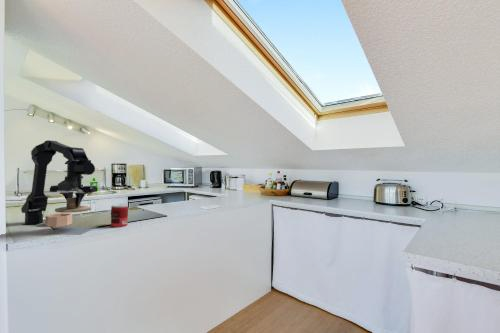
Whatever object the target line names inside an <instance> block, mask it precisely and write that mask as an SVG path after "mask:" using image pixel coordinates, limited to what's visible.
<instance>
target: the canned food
mask: <svg viewBox="0 0 500 333" xmlns="http://www.w3.org/2000/svg"><path fill="white" fill-rule="evenodd" d="M110 207H111V210H110V226H111V228H124V227H127V226H128V224H129V223H128V220H129V218H128V217H129V204H128V203H127V204H126V203H118V204H117V203H116V204H115V203H114V204H111V206H110Z"/></svg>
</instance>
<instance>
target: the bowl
mask: <svg viewBox="0 0 500 333" xmlns="http://www.w3.org/2000/svg"><path fill="white" fill-rule="evenodd" d="M44 224H45V226H46V227H49V228H51V227H55V228H57V227H65V226H70V225H71V224H72V225H73V214H72V213H71V212H69V213H61V212H59V213H52V214H48V215H45V221H44Z"/></svg>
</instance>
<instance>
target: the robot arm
mask: <svg viewBox="0 0 500 333" xmlns="http://www.w3.org/2000/svg"><path fill="white" fill-rule="evenodd" d="M57 153H60V154H62V157H63V158H65V159H67V160H66V161H65V162H64V165H67V167H66V170H67V171H66V175H65V176H64V180H62V181H61V182H59V183H57V184H56V185H55V184H54V185H51V186H50V187H49V193H57V192H59V195H62V196H63V197H64V198H65V201H66V202H67V198H72V197H74V196H73V195H74V194H75V197H76V207H78V206H79V204H80V203H81V202H82V200H83V199H84V197H85V195H86V194H88V193H94V192H95V193H96V192H98V187H97V186H96V185H83V184H82V179H84V176H85V175H87V176H90V175H92V174H94V173H95V170H96V167H95V165H94V163H92V160H91V159H89V157H88V155H87V153H86V151H85V149H84V148H83V147H72V146H69V145H67V144H64V143H61V142H59V141H57V140H49V139H48V140H45V141H44V142H42V143H40V144H37V145H35V146H34V147H33V148H32V149H31V151H30V154H31V155H30V156H31V161H32V162H33V163H34V169H33V177H32V178H33V179H32V186H31V192H30V193H28V195H27V197H26V200H25V202H24V204H23V205H22V206H21V208H20V210H21V213H22V214H24V223H23V222H22V223H21V225H22V226H23V225H26V226H27V225H28V226H31V225H32V226H35V225H36V226H37V225H39V224H42V223H43V224H44V223H45V221H44V214H43V212H46V210H47V207H48V206H47V205H48V199H49V197H48V196H46V194H45V185H46V179H47V169H48V165H49V164H50V163H51V162H52V161H53V157H54V156H55V155H56V154H57ZM83 175H84V176H83ZM74 192H75V193H74Z"/></svg>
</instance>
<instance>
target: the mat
mask: <svg viewBox="0 0 500 333" xmlns="http://www.w3.org/2000/svg"><path fill="white" fill-rule="evenodd" d="M99 227H100V226H99V225H98V226H97V225H94V226H93V225H92V226H91V225H65V226H61V227H60V228H56V229H54V230H51V231H48V232H45V233H42V235H51V236H53V235H56V236H57V235H60V236H62V235H63V236H64V235H65V236H66V235H67V236H71V235H72V236H73V235H74V236H76V235H78V236H80V235H81V236H82V235H84V234H86V233H88V232H90V231H92V230H94V229H96V228H99Z"/></svg>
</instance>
